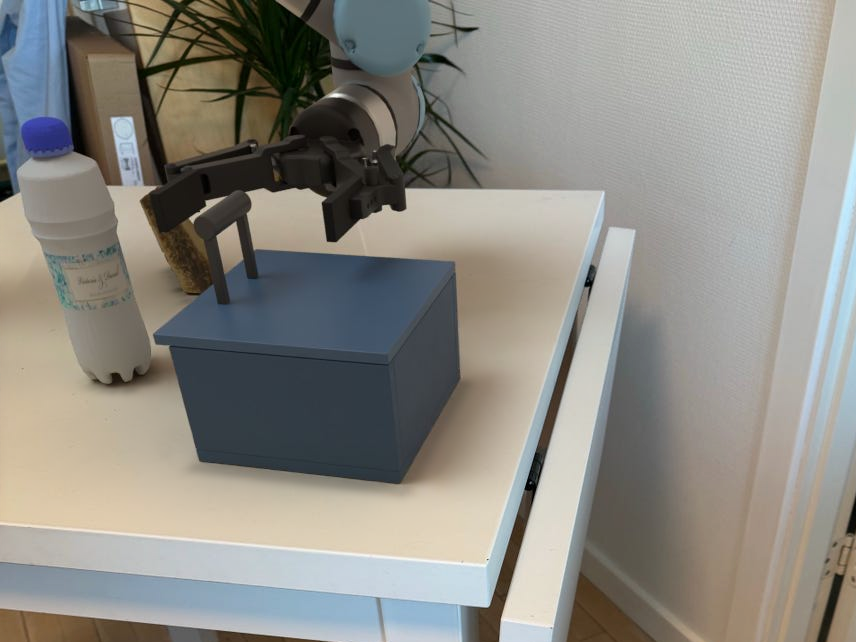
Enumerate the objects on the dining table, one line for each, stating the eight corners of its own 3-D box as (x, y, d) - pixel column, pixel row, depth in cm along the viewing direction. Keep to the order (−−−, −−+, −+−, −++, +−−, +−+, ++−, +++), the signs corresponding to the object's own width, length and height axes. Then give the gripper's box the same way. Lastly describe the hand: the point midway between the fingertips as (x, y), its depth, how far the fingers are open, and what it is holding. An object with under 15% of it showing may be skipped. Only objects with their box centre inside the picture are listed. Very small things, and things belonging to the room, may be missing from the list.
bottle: (93, 397, 77) (4, 133, 63) (72, 368, 81) (-16, 115, 67) (170, 375, 79) (100, 118, 66) (145, 349, 83) (75, 102, 70)
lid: (154, 345, 62) (126, 241, 58) (257, 258, 75) (240, 167, 70) (388, 365, 59) (377, 257, 54) (455, 271, 71) (451, 176, 67)
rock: (140, 241, 99) (110, 260, 91) (173, 169, 95) (145, 183, 87) (229, 300, 102) (208, 324, 94) (265, 234, 99) (246, 253, 90)
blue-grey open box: (198, 461, 68) (168, 346, 62) (287, 363, 80) (268, 259, 74) (400, 484, 65) (388, 366, 59) (460, 378, 77) (455, 272, 71)
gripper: (476, 193, 82) (408, 280, 66) (224, 182, 86) (106, 260, 71) (474, 99, 77) (399, 169, 61) (206, 92, 81) (75, 155, 66)
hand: (241, 218), depth 66 cm, fingers open, 13 cm apart
